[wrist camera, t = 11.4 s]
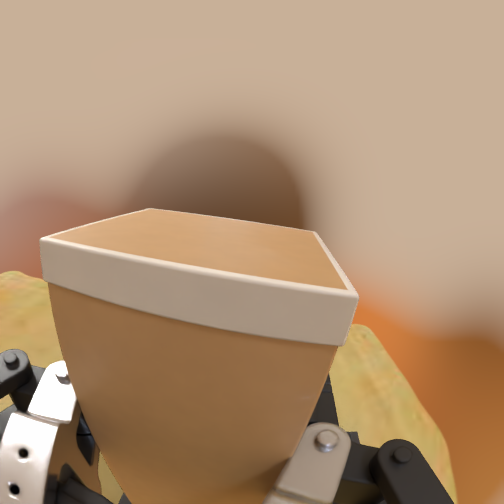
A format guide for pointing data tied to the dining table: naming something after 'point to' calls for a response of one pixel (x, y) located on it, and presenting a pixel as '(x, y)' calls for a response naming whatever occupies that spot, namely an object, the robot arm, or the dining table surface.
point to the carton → (196, 346)
